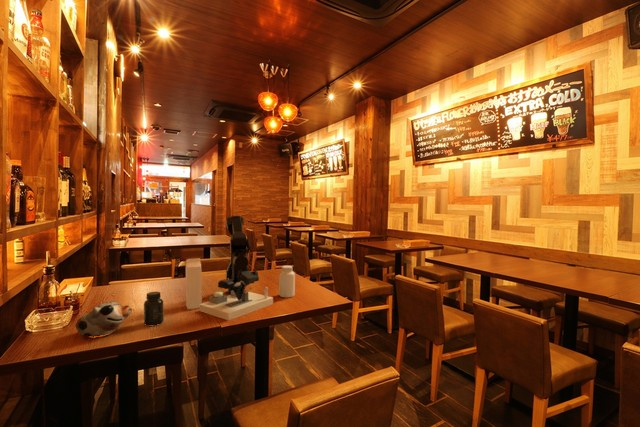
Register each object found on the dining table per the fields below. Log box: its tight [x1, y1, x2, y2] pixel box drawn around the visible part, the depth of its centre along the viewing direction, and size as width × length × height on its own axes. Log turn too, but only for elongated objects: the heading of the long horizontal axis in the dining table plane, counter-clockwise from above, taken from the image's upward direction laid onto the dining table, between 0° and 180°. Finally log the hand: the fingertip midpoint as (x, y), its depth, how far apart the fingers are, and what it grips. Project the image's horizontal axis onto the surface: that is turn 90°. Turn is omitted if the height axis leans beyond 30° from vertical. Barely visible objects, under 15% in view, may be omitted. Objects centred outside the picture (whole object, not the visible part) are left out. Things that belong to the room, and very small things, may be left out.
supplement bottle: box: [143, 291, 165, 326], centre depth 128 cm, size 7×7×12 cm
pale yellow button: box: [213, 291, 224, 298], centre depth 146 cm, size 4×4×2 cm
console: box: [199, 286, 274, 322], centre depth 147 cm, size 19×26×8 cm
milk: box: [185, 257, 203, 310], centre depth 148 cm, size 6×6×22 cm
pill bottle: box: [278, 265, 296, 299], centre depth 166 cm, size 8×8×15 cm
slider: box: [241, 289, 250, 302], centre depth 147 cm, size 3×2×4 cm
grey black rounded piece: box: [75, 301, 133, 337], centre depth 119 cm, size 15×12×14 cm
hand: (239, 299), depth 144 cm, fingers closed
